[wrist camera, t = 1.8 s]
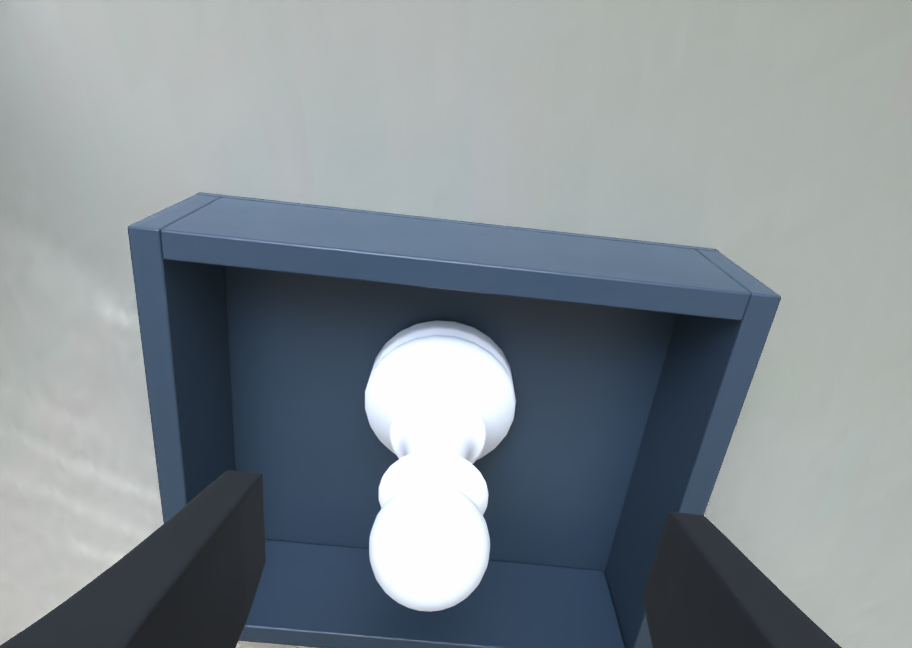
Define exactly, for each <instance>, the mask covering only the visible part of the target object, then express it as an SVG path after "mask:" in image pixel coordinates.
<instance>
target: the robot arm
mask: <svg viewBox="0 0 912 648" xmlns="http://www.w3.org/2000/svg"><path fill="white" fill-rule="evenodd" d="M265 562H266V560H265V532H264V504H263V476H262V473H252V472H242V471H231V470H227V471H226V472H224V473H223V474H222V475H221V476H219V477H218V478H217V479H216V480H215V481H213V482H212V483H211V484H210V485H209V486H208V487H206V488H205V489H204V490H203V491H202V492H201V493H199V494H198V495H197V496H196V497H195V498H194V499H193V500H191V501H190V502H189V503H188V504H187V505H186V506H184V507H183V508H182V509H181V510H180V511H179V512H177V513H176V514H175V515H174V516H173V517H172V518H170V519H169V520H168V521H167V522H166V523H165V524H163V525H162V526H161V527H160V528H158V529H157V530H156V531H155V532H154V533H152V534H151V535H150V536H149V537H147V538H146V539H145V540H144V541H143V542H141V543H140V544H139V545H138V546H136V547H135V548H134V549H133V550H132V551H130V552H129V553H128V554H127V555H125V556H124V557H123V558H122V559H120V560H119V561H118V562H117V563H115V564H114V565H113V566H111V567H110V568H109V569H107V570H106V571H105V572H103V573H102V574H101V575H99V576H98V577H97V578H96V579H94V580H93V581H92V582H90V583H89V584H88V585H86V586H85V587H84V588H82V589H81V590H80V591H78V592H77V593H76V594H74V595H73V596H72V597H70V598H69V599H68V600H66V601H65V602H63V603H62V604H61V605H59V606H58V607H56V608H55V609H54V610H52V611H51V612H49V613H48V614H47V615H45V616H44V617H42V618H41V619H39V620H38V621H37V622H35V623H34V624H32V625H31V626H29V627H28V628H26V629H25V630H23V631H22V632H20V633H19V634H17V635H16V636H14V637H13V638H11V639H10V640H8V641H7V642H5V643H4V644H2V645H0V648H235V647H236V644H237V642H238V640H239V638H240V635H241V633H242V631H243V628H244V626H245V624H246V621H247V619H248V616H249V613H250V610H251V607H252V604H253V601H254V597H255V594H256V591H257V588H258V585H259V581H260V578H261V575H262V572H263V568H264V565H265ZM642 598H643V603H644V608H645V613H646V619H647V624H648V629H649V633H650V637H651V642H652V646H653V648H841V647H840V646H839V645H838V644H837V643H836V642H834V641H833V640H832V639H831V638H830V637H829V636H828V635H827V634H826V633H825V632H824V631H823V630H821V629H820V628H819V627H818V626H817V625H816V624H815V623H814V622H813V621H812V620H811V619H810V618H809V617H807V616H806V615H805V614H804V613H803V612H802V611H801V610H800V609H799V608H798V607H797V606H796V605H795V604H794V603H793V602H792V601H791V600H790V599H789V598H788V597H787V596H785V595H784V594H783V593H782V592H781V591H780V590H779V589H778V588H777V587H776V586H775V585H774V584H773V583H772V582H771V581H770V580H769V579H768V578H767V577H766V576H765V575H764V574H763V573H762V572H761V571H760V570H759V569H758V568H757V567H756V566H755V565H754V564H753V563H752V562H751V561H750V560H749V559H748V558H747V557H746V556H745V555H744V554H743V553H742V552H741V551H740V550H739V549H738V548H737V547H736V546H735V545H734V544H733V543H732V542H731V541H730V540H729V539H728V538H727V537H726V536H725V535H724V534H722V533H721V532H720V531H719V530H718V529H717V528H716V527H715V526H714V525H713V524H712V523H711V522H710V521H709V520H708V519H707V518H706V517H704V516H703V515H698V514H688V513H677V512H669V513H668V516H667V519H666V522H665V525H664V528H663V532H662V535H661V538H660V541H659V544H658V547H657V550H656V553H655V556H654V560H653V563H652V566H651V569H650V572H649V575H648V578H647V581H646V584H645V588H644V591H643V594H642Z"/></svg>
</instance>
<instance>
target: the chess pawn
mask: <svg viewBox="0 0 912 648" xmlns="http://www.w3.org/2000/svg"><path fill="white" fill-rule="evenodd" d="M515 406H516V397H515V392H514V385H513V379H512V374H511V368H510V365H509V363H508V361H507V359H506V357H505V355H504V353H503V351H502V350H501V349H500V348H499V347H498V346H497V345H496V344H495V343H494V341H493V340H492V339H491V338H490V337H488V336H487V335H485V334H483V333H482V332H480V331H479V330H477V329H475V328H474V327H471V326H468V325H464V324H461V323H458V322H453V321H438V320H435V321H430V322H424V323H418V324H415V325H413V326H411V327H409V328H407V329H404V330H402V331H400V332H399V333H397V334H396V335H395V336H394V337H393V338H391V339H390V340H389V341H388V342H386V344H385V345H384V346H383V348H382V349H381V351H380V352H379V354H378V355H377V357H376V359H375V362H374V365H373V368H372V371H371V374H370V377H369V380H368V383H367V387H366V390H365V411H366V414H367V417H368V421H369V424H370V427H371V428H372V430H373V431H374V433H375V434H376V436H377V437H378V439H379V440H380V441H381V442H382V443H383V444H384V445H385V446H386V447H387V448H388V449H389V450H390V451H392V452H393V453H394V454H396V455H397V457H398V458H399V460H398V461H396V462H395V463H394V464H392V465H391V466H390V467H389V468H388V470H387V471H386V472H385V474H384V475H383V477H382V479H381V482H380V485H379V503H380V506H381V510H380V511H379V513H378V514H377V516H376V519H375V522H374V524H373V527H372V530H371V533H370V539H369V558H370V563H371V566H372V569H373V572H374V575H375V578H376V580H377V582H378V583H379V585H380V586H381V587H382V589H383V590H384V591H385V593H386V594H387V595H388V596H390V597H391V598H392V599H393V600H395V601H396V602H397V603H399V604H401V605H403V606H405V607H407V608H410V609H414V610H418V611H429V612H432V611H439V610H444V609H447V608H450V607H453V606H455V605H456V604H458V603H460V602H461V601H463V600H465V599H466V598H467V597H468V596H469V595H470V594H471V593H472V592H473V591H474V590H475V589H476V587H477V586H478V585H479V583H480V581H481V579H482V577H483V575H484V573H485V571H486V569H487V566H488V561H489V553H490V537H489V533H488V528H487V524H486V521H485V519H484V517H483V514H484V512H485V510H486V508H487V504H488V495H489V493H488V489H487V484H486V481H485V480H484V478H483V476H482V474H481V473H480V471H479V470H478V469H477V468H476V467H475V466H474V465H472V464H473V463H474V462H475V461H476V460H478V459H480V458H482V457H483V456H485V455H486V454H488V453H489V452H490V451H492V450H493V449H495V448H496V447H497V445H498V444H499V443H500V442H501V441H502V440H503V438H504V437H505V436H506V435H507V433H508V431H509V428H510V426H511V424H512V422H513V420H514V414H515Z"/></svg>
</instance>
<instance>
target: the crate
mask: <svg viewBox="0 0 912 648" xmlns="http://www.w3.org/2000/svg"><path fill="white" fill-rule="evenodd" d="M128 234H129V242H130V250H131V259H132V267H133V275H134V283H135V291H136V300H137V308H138V316H139V324H140V332H141V341H142V349H143V357H144V365H145V373H146V382H147V390H148V398H149V406H150V414H151V423H152V431H153V439H154V447H155V455H156V464H157V472H158V480H159V488H160V496H161V505H162V513H163V521H164V524H165V523H166V522H167V521H168V520H169V519H170V518H172V517H173V516H174V515H175V514H176V513H177V512H179V511H180V510H181V509H182V508H183V507H184V506H186V505H187V504H188V503H189V502H190V501H191V500H193V499H194V498H195V497H196V496H197V495H198V494H199V493H201V492H202V491H203V490H204V489H205V488H206V487H208V486H209V485H210V484H211V483H212V482H213V481H215V480H216V479H217V478H218V477H219V476H221V475H222V474H223V473H224V472H226V471H227V470H231V471H242V472H252V473H262V476H263V504H264V532H265V560H266V562H265V565H264V568H263V572H262V575H261V578H260V581H259V585H258V588H257V591H256V594H255V597H254V601H253V604H252V607H251V610H250V613H249V616H248V619H247V621H246V624H245V626H244V628H243V631H242V633H241V635H240V638H239V640H238V641H250V642H261V643H273V644H284V645H296V646H307V647H319V648H653V646H652V642H651V637H650V633H649V629H648V624H647V619H646V613H645V608H644V603H643V598H642V594H643V591H644V588H645V584H646V581H647V578H648V575H649V572H650V569H651V566H652V563H653V560H654V556H655V553H656V550H657V547H658V544H659V541H660V538H661V535H662V532H663V528H664V525H665V522H666V519H667V516H668V513H669V512H677V513H688V514H698V515H704V513H705V510H706V507H707V504H708V501H709V499H710V496H711V493H712V490H713V487H714V485H715V482H716V479H717V476H718V473H719V470H720V468H721V465H722V462H723V459H724V456H725V454H726V451H727V448H728V445H729V442H730V440H731V437H732V434H733V431H734V428H735V426H736V423H737V420H738V417H739V414H740V412H741V409H742V406H743V403H744V400H745V398H746V395H747V392H748V389H749V386H750V384H751V381H752V378H753V375H754V372H755V370H756V367H757V364H758V361H759V358H760V356H761V353H762V350H763V347H764V344H765V342H766V339H767V336H768V333H769V330H770V328H771V325H772V322H773V319H774V316H775V314H776V311H777V308H778V305H779V302H780V300H781V296H779V295H778V294H777V293H775V292H774V291H772V290H771V289H770V288H768V287H767V286H765V285H764V284H763V283H761V282H760V281H759V280H757V279H756V278H754V277H753V276H752V275H750V274H749V273H747V272H746V271H745V270H743V269H742V268H741V267H739V266H738V265H736V264H735V263H734V262H732V261H731V260H729V259H728V258H727V257H725V256H724V255H723V254H721V253H720V252H719V251H718V250H716V249H710V248H701V247H692V246H683V245H674V244H665V243H655V242H646V241H637V240H628V239H619V238H610V237H601V236H592V235H583V234H573V233H564V232H555V231H546V230H537V229H528V228H519V227H510V226H501V225H491V224H482V223H473V222H464V221H455V220H446V219H437V218H428V217H419V216H409V215H400V214H391V213H382V212H373V211H364V210H355V209H346V208H337V207H327V206H318V205H309V204H300V203H291V202H282V201H273V200H264V199H255V198H245V197H236V196H227V195H218V194H209V193H197V194H196V195H194V196H192V197H190V198H188V199H185V200H183V201H181V202H179V203H177V204H175V205H173V206H170V207H168V208H166V209H164V210H162V211H160V212H158V213H156V214H153V215H151V216H149V217H147V218H145V219H143V220H141V221H138V222H136V223H134V224H132V225H130V226H128ZM435 320H438V321H453V322H458V323H461V324H464V325H468V326H471V327H474V328H475V329H477V330H479V331H480V332H482V333H483V334H485V335H487V336H488V337H490V338H491V339H492V340H493V341H494V343H495V344H496V345H497V346H498V347H499V348H500V349H501V350H502V351H503V353H504V355H505V357H506V359H507V361H508V363H509V365H510V368H511V374H512V379H513V385H514V392H515V397H516V406H515V414H514V420H513V422H512V424H511V426H510V428H509V431H508V433H507V435H506V436H505V437H504V438H503V440H502V441H501V442H500V443H499V444H498V445H497V447H496V448H495V449H493V450H492V451H490V452H489V453H488V454H486V455H485V456H483V457H482V458H480V459H478V460H476V461H475V462H474V463H473V464H472V465H474V466H475V467H476V468H477V469H478V470H479V471H480V473H481V474H482V476H483V478H484V480H485V481H486V484H487V489H488V493H489V495H488V504H487V508H486V510H485V512H484V514H483V517H484V519H485V521H486V524H487V528H488V533H489V537H490V553H489V561H488V566H487V569H486V571H485V573H484V575H483V577H482V579H481V581H480V583H479V585H478V586H477V587H476V589H475V590H474V591H473V592H472V593H471V594H470V595H469V596H468V597H467V598H466V599H465V600H463V601H461V602H460V603H458V604H456V605H455V606H453V607H450V608H447V609H444V610H439V611H432V612H429V611H418V610H414V609H410V608H407V607H405V606H403V605H401V604H399V603H397V602H396V601H395V600H393V599H392V598H391V597H390V596H388V595H387V594H386V593H385V591H384V590H383V589H382V587H381V586H380V585H379V583H378V582H377V580H376V578H375V575H374V572H373V569H372V566H371V563H370V558H369V539H370V533H371V530H372V527H373V524H374V522H375V519H376V516H377V514H378V513H379V511H380V510H381V506H380V503H379V485H380V482H381V479H382V477H383V475H384V474H385V472H386V471H387V470H388V468H389V467H390V466H391V465H392V464H394V463H395V462H396V461H398V460H399V458H398V457H397V455H396V454H394V453H393V452H392V451H390V450H389V449H388V448H387V447H386V446H385V445H384V444H383V443H382V442H381V441H380V440H379V439H378V437H377V436H376V434H375V433H374V431H373V430H372V428H371V427H370V424H369V421H368V417H367V414H366V411H365V390H366V387H367V383H368V380H369V377H370V374H371V371H372V368H373V365H374V362H375V359H376V357H377V355H378V354H379V352H380V351H381V349H382V348H383V346H384V345H385V344H386V342H388V341H389V340H390V339H391V338H393V337H394V336H395V335H396V334H397V333H399V332H400V331H402V330H404V329H407V328H409V327H411V326H413V325H415V324H418V323H424V322H430V321H435Z"/></svg>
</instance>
